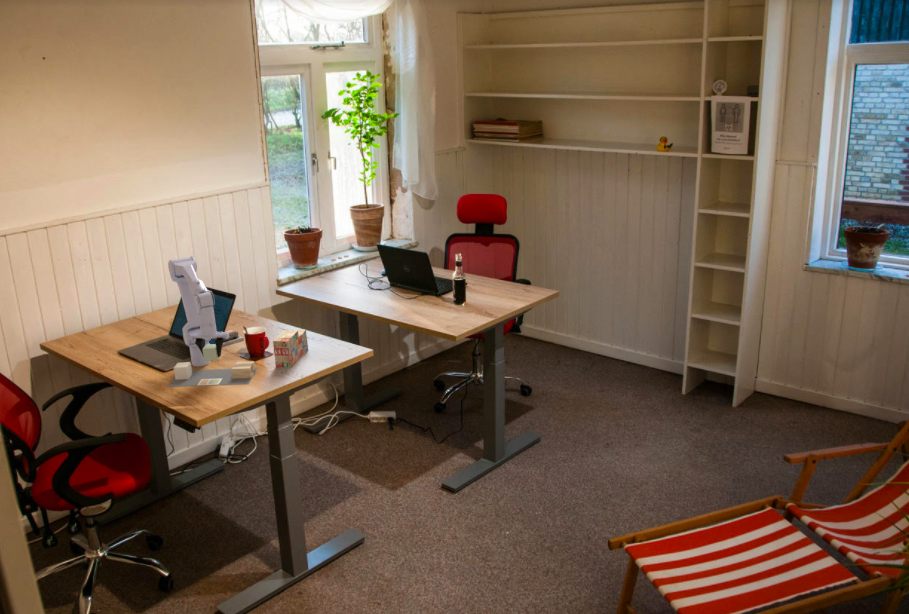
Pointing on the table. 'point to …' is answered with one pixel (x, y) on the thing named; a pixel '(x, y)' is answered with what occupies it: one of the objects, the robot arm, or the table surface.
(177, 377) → the offwhite cube
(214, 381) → the card
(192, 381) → the mat
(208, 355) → the sage cube
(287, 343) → the stack of blocks
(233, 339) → the stapler
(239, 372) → the base block
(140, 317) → the table surface
